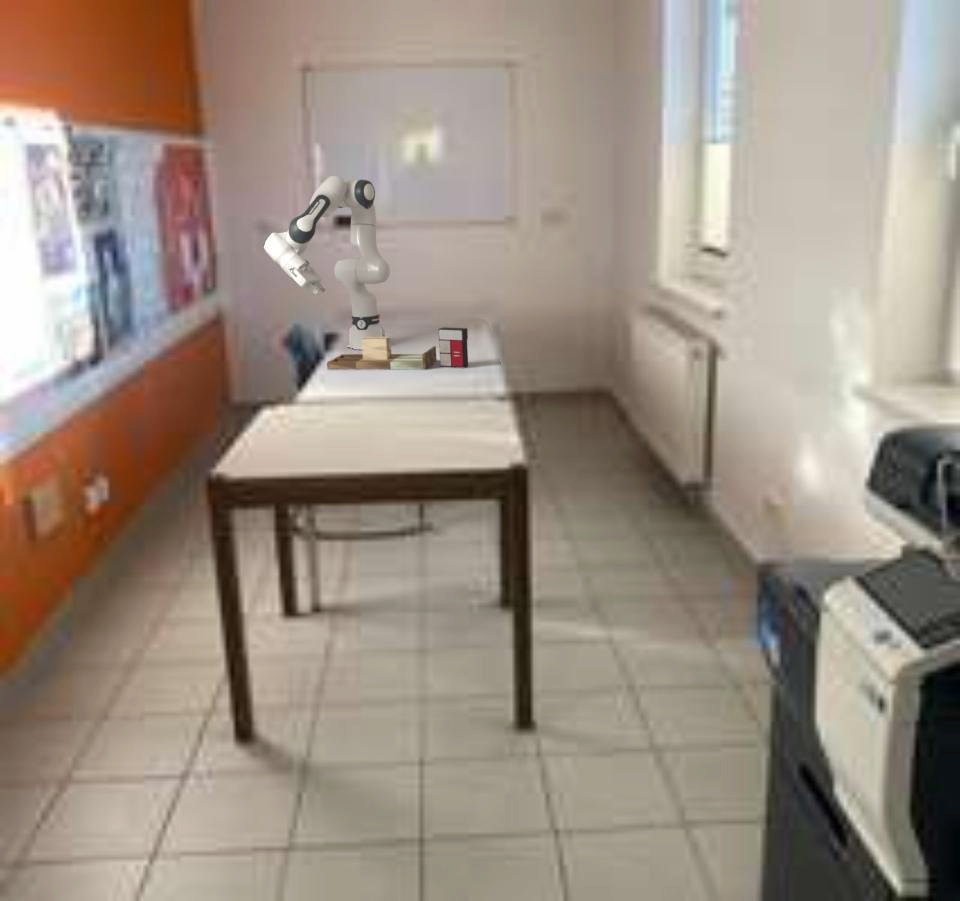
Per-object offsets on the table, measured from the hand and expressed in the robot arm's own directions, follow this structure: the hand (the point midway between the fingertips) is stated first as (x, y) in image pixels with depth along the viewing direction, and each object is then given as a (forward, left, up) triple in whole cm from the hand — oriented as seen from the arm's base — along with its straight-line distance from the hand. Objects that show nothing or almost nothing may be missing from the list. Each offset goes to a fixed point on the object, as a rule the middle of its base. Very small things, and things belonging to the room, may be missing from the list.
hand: (321, 292), depth 396 cm
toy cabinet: (+6, +54, -29) cm, 62 cm away
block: (+3, +22, -26) cm, 35 cm away
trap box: (+3, +24, -29) cm, 38 cm away
